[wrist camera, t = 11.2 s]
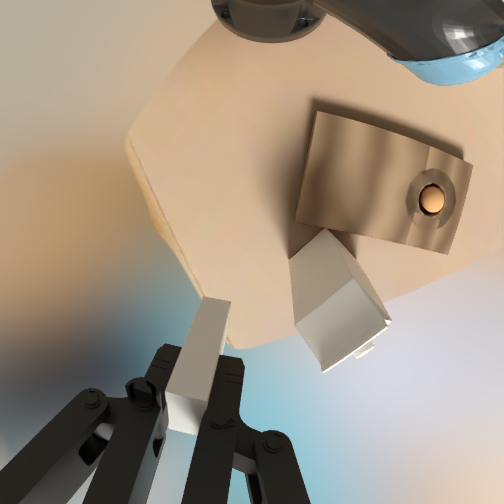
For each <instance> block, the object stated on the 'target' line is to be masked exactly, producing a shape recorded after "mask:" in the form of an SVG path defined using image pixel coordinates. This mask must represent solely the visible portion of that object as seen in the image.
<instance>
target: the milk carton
mask: <svg viewBox="0 0 504 504" xmlns="http://www.w3.org/2000/svg"><path fill="white" fill-rule="evenodd" d="M289 269H290V279H291V289H292V299H293V309H294V320H295V327H296V328H297V330H298V331H299V333H300V334H301V336H302V337H303V339H304V340H305V342H306V343H307V345H308V346H309V348H310V349H311V351H312V352H313V354H314V355H315V357H316V358H317V360H318V361H319V363H320V364H321V369H322V373H325V372H326V371H328V370H330V369H331V368H333V367H334V366H336V365H337V364H339V363H340V362H341V361H343V360H345V359H346V358H347V357H349V356H350V355H352V354H354V356H355V358H360V357H361V356H363V355H365V354H366V353H367V352H369V351H370V350H371V349H373V348H374V344H373V343H372V342H371V340H372V339H374V338H375V337H376V336H378V335H379V334H380V333H382V332H383V331H384V330H386V329H387V328H388V324H389V323H390V322H391V321H392V320H391V318H390V316H389V315H388V313H387V311H386V309H385V307H384V305H383V304H382V302H381V300H380V298H379V297H378V295H377V293H376V291H375V290H374V288H373V286H372V284H371V283H370V281H369V279H368V278H367V276H366V274H365V273H364V271H363V269H362V268H361V266H360V264H359V263H358V261H357V260H356V259H355V258H354V257H353V256H352V254H351V253H350V252H349V251H348V250H347V249H346V248H345V247H344V246H343V245H342V243H341V242H340V241H339V240H338V239H337V238H336V237H335V236H334V235H333V234H332V233H331V232H330V231H329V230H328V228H324V229H323V230H322V231H321V232H320V233H318V234H317V235H316V236H315V237H314V238H313V239H312V240H311V241H310V242H309V243H307V244H306V245H305V246H304V247H303V248H302V249H301V250H300V251H299V252H298V253H296V254H295V255H294V256H293V257H292V258H291V259H290V260H289Z"/></svg>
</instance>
